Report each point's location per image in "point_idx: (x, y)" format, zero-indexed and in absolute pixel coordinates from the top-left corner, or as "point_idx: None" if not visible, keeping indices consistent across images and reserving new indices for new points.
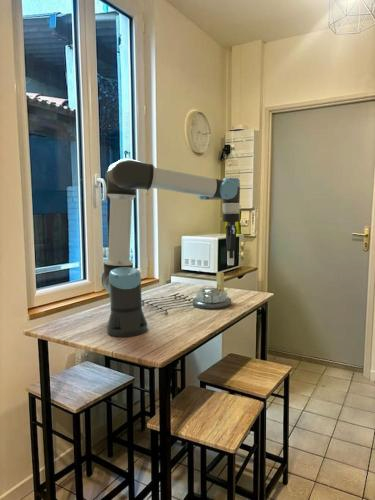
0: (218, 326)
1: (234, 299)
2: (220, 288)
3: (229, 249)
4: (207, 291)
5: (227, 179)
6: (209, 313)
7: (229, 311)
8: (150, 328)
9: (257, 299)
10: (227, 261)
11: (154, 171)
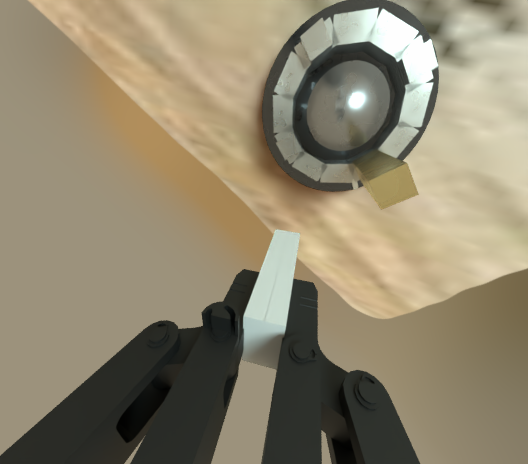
0: (110, 72)
1: (367, 215)
2: (353, 163)
3: (168, 327)
4: (322, 76)
5: None
6: (230, 72)
7: (239, 151)
8: None
9: (333, 271)
10: (295, 246)
11: None
